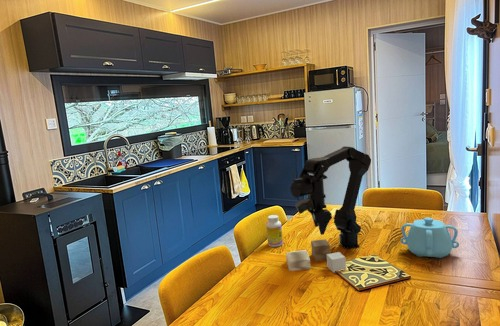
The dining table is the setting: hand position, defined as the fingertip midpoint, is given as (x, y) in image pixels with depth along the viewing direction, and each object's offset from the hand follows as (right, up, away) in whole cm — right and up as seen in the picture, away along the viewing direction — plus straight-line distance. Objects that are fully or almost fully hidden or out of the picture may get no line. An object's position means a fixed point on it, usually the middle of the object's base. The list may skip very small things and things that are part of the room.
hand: (319, 230), depth 144 cm
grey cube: (+5, -12, -9) cm, 16 cm away
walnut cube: (+1, -11, +2) cm, 11 cm away
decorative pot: (+41, -8, -4) cm, 42 cm away
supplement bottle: (-16, -10, +19) cm, 27 cm away
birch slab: (-9, -13, -4) cm, 16 cm away
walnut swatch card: (-7, -11, +5) cm, 14 cm away
